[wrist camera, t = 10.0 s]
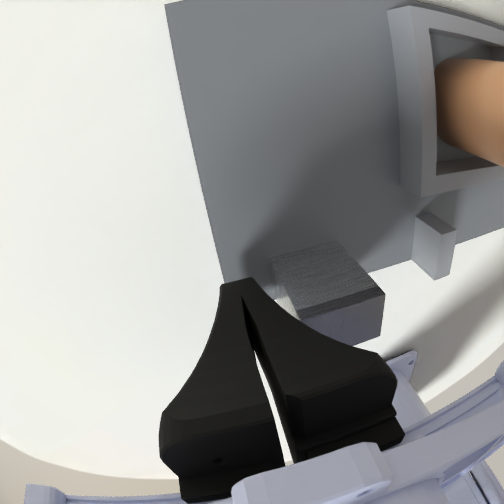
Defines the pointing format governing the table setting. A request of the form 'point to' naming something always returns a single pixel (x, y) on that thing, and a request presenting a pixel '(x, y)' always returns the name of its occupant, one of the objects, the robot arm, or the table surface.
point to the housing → (331, 130)
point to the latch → (329, 292)
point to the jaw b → (471, 106)
